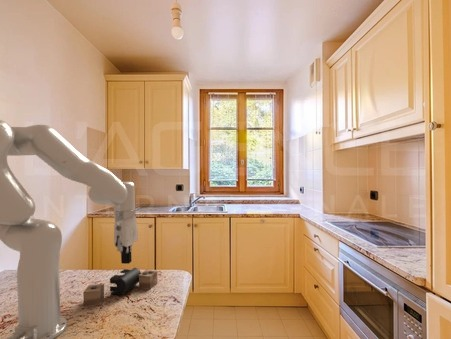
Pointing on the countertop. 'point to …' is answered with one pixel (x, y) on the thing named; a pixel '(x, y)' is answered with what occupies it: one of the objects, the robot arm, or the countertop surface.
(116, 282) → the black arched block
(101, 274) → the countertop surface
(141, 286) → the marked block
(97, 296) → the marked block
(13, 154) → the robot arm
